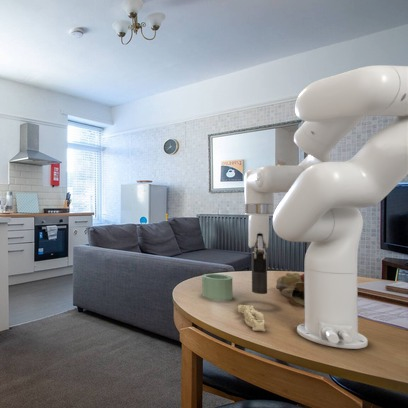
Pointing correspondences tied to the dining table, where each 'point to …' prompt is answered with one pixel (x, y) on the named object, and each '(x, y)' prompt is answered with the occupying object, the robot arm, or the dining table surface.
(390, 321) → the dining table surface
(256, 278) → the peg
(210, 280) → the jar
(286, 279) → the figurine
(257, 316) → the beige lumpy bar
